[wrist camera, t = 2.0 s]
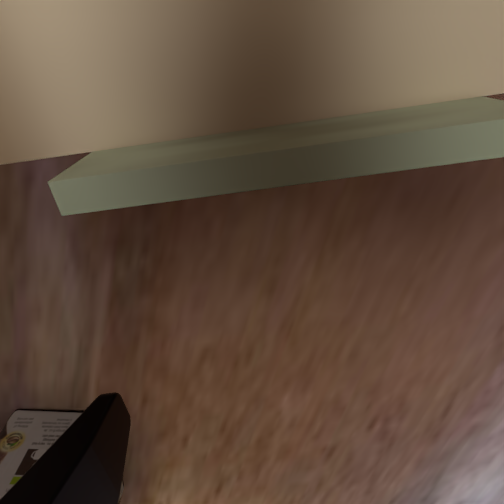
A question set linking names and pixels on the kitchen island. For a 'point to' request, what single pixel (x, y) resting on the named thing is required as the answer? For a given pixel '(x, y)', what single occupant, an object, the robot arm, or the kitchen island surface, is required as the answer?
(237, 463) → the kitchen island surface
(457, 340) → the kitchen island surface
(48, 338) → the kitchen island surface
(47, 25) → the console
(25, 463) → the coffee box
